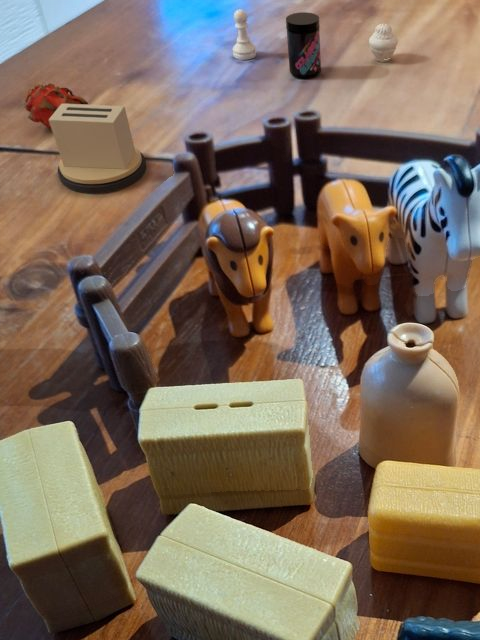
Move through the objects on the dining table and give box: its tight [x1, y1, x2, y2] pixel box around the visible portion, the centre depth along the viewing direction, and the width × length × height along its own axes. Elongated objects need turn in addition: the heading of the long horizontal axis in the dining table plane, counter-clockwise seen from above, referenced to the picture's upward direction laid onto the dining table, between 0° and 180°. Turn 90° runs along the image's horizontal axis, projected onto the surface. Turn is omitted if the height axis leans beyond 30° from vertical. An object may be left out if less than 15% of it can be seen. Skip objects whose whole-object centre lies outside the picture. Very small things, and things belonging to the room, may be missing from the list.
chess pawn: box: [232, 8, 257, 61], centre depth 156 cm, size 5×5×9 cm
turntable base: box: [57, 151, 147, 194], centre depth 127 cm, size 15×15×1 cm
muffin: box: [368, 23, 398, 63], centre depth 155 cm, size 6×6×7 cm
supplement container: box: [285, 11, 322, 80], centre depth 149 cm, size 7×7×10 cm
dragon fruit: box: [23, 83, 89, 133], centre depth 136 cm, size 8×8×12 cm
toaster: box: [49, 104, 142, 184], centre depth 123 cm, size 14×14×9 cm
